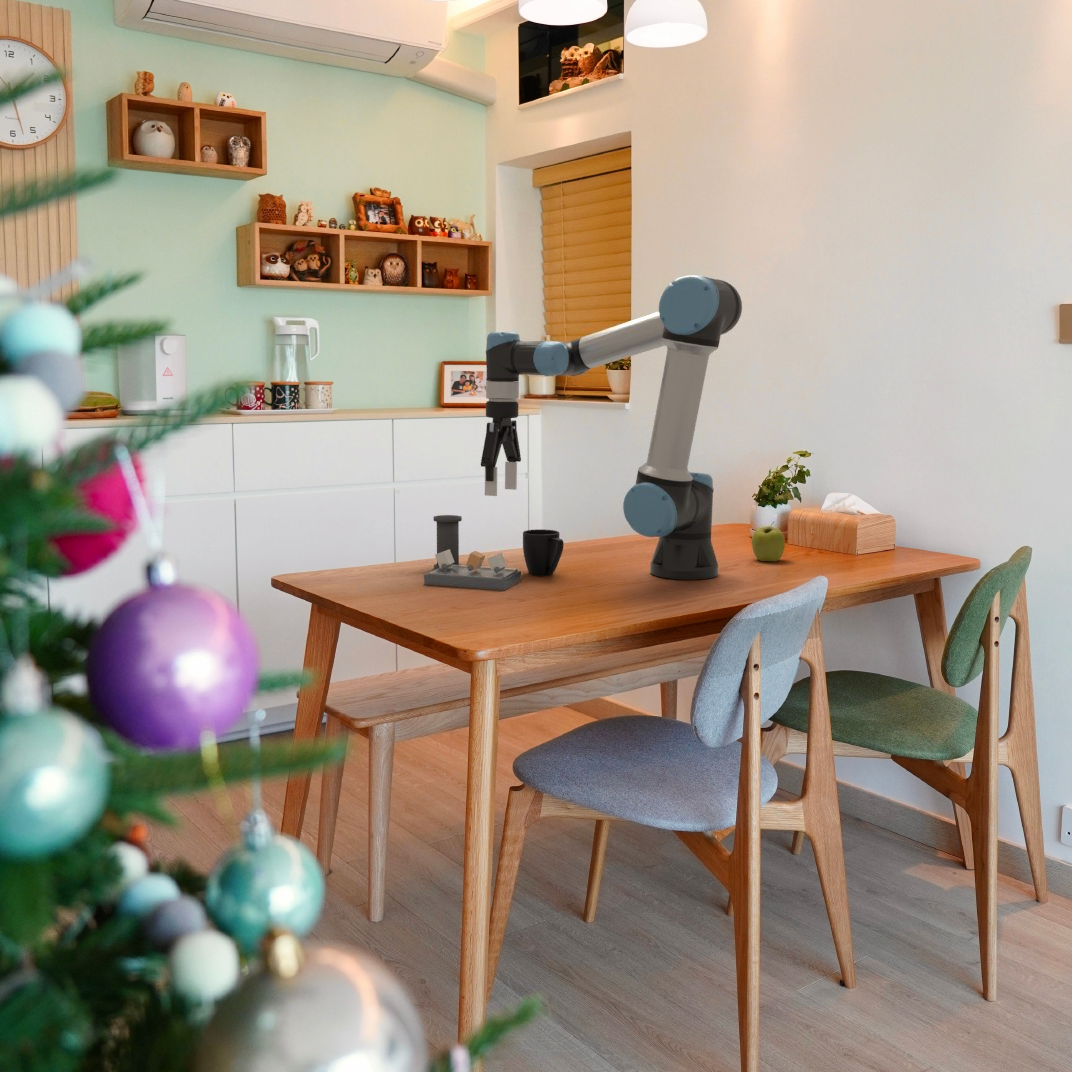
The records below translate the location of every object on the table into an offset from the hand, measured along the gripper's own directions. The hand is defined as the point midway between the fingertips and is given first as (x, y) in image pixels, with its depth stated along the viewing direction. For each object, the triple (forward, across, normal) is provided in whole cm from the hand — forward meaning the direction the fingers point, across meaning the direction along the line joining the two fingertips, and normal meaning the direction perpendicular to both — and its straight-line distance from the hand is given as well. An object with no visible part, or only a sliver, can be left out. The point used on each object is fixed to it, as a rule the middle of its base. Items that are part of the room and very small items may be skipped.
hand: (501, 492), depth 248 cm
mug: (+17, +9, +14) cm, 24 cm away
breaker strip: (+17, +23, +2) cm, 28 cm away
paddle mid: (+13, +23, +2) cm, 26 cm away
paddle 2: (+13, +23, +8) cm, 27 cm away
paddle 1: (+14, +23, -4) cm, 27 cm away
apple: (+17, -27, +59) cm, 67 cm away
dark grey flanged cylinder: (+17, +9, -10) cm, 22 cm away
